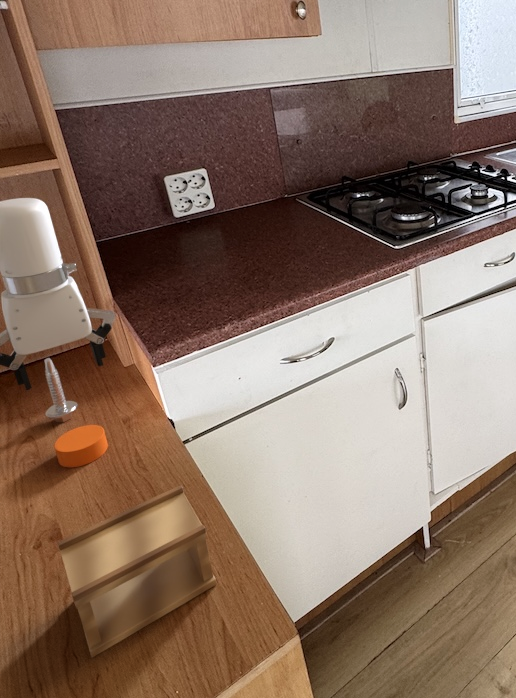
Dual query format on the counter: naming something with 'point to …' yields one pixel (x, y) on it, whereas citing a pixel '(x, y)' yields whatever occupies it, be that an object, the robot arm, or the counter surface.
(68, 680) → the counter surface
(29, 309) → the robot arm
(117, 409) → the counter surface
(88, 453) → the puck
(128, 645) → the counter surface
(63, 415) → the screw
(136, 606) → the gold metallic block
